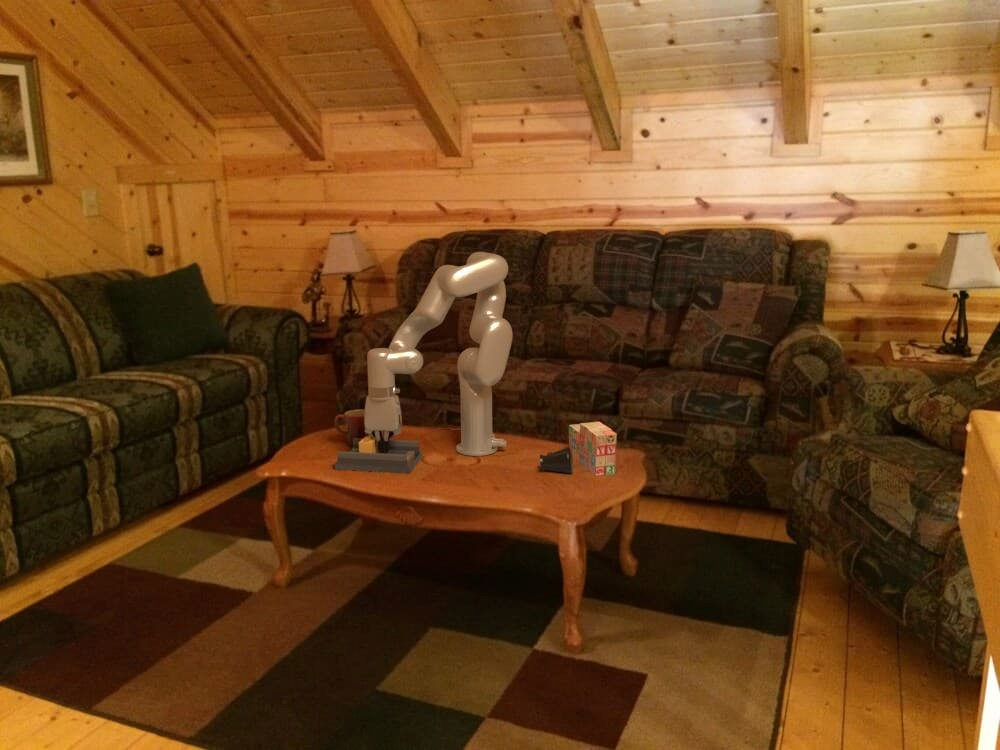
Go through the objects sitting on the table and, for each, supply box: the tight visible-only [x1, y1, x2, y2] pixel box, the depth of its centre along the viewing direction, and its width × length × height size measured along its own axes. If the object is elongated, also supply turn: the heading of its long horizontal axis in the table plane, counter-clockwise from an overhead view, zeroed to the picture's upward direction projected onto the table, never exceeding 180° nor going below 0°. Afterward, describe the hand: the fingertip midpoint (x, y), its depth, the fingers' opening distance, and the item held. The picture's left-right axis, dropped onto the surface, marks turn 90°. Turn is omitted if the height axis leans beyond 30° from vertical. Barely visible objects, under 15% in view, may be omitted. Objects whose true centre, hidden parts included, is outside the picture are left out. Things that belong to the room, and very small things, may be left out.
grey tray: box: [337, 438, 420, 467], centre depth 247 cm, size 20×15×3 cm
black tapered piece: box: [539, 446, 574, 474], centre depth 245 cm, size 8×18×8 cm
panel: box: [334, 447, 423, 475], centre depth 247 cm, size 22×14×3 cm, turn 80°
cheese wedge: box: [359, 435, 379, 453], centre depth 247 cm, size 4×6×6 cm, turn 170°
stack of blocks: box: [568, 421, 618, 478], centre depth 245 cm, size 21×6×12 cm, turn 16°
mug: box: [334, 408, 372, 447], centre depth 265 cm, size 12×9×10 cm
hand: (383, 452), depth 247 cm, fingers closed
